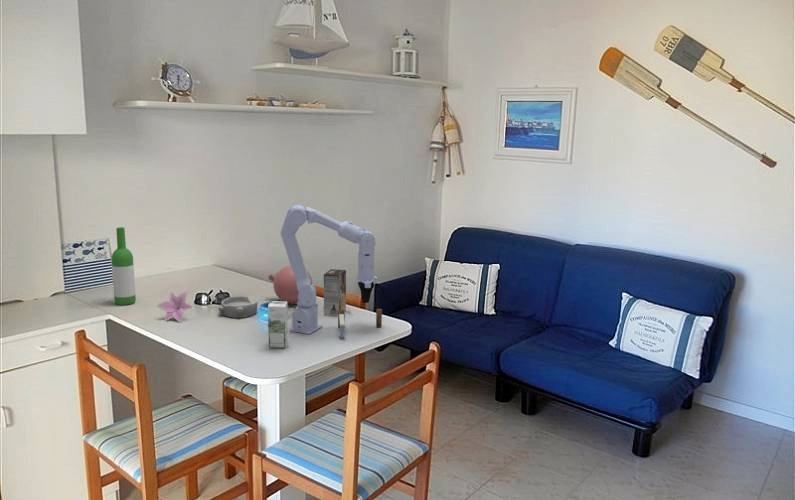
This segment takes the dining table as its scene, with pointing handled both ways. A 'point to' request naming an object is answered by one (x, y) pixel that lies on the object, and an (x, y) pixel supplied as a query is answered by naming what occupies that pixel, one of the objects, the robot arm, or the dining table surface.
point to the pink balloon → (286, 285)
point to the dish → (238, 307)
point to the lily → (175, 306)
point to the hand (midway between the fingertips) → (365, 302)
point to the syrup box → (277, 324)
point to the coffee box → (334, 291)
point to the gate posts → (378, 317)
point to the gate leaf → (341, 325)
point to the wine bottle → (123, 271)
